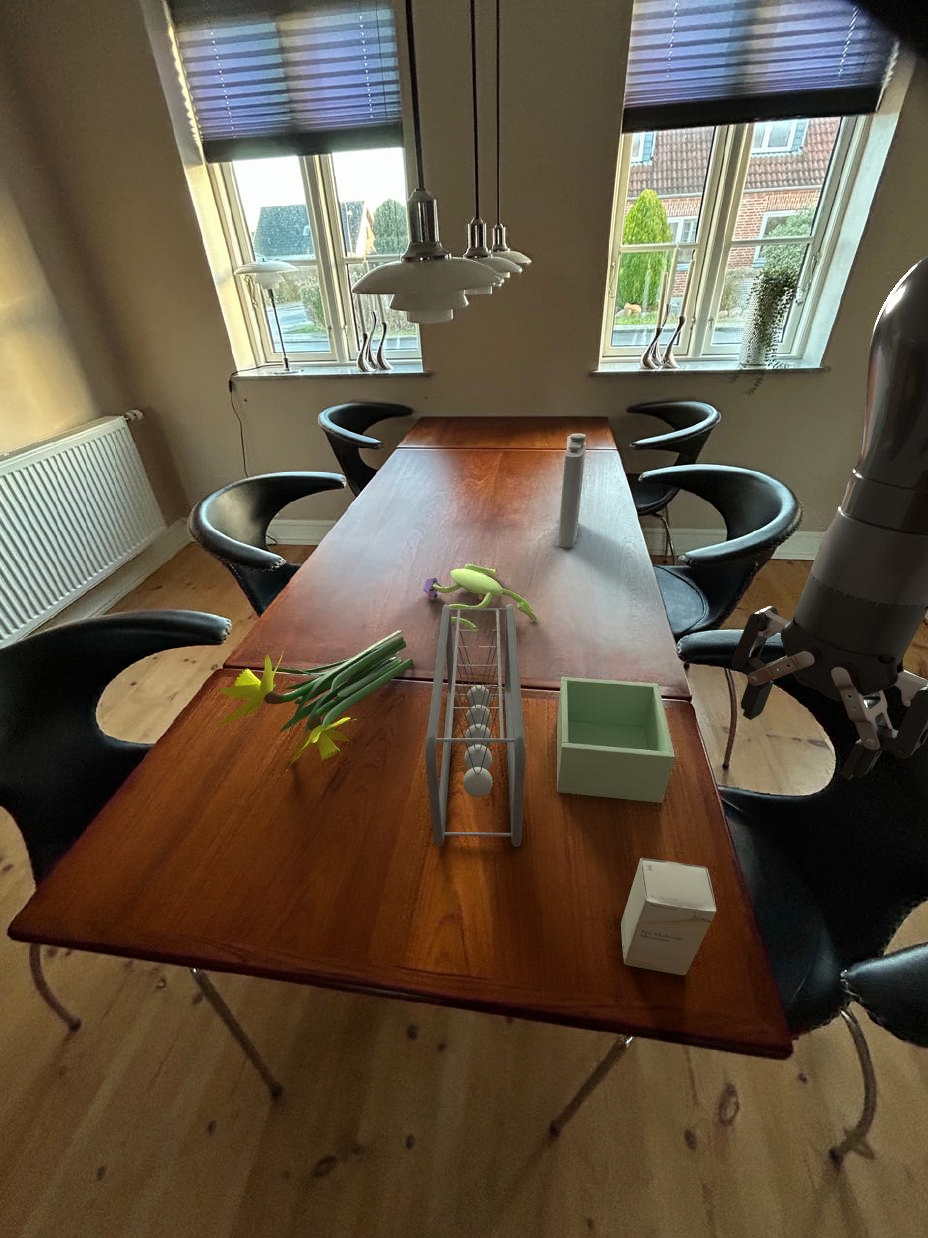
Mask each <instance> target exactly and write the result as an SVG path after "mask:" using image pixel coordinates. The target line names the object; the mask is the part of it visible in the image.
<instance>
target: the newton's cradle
mask: <svg viewBox="0 0 928 1238" xmlns="http://www.w3.org/2000/svg"><path fill="white" fill-rule="evenodd" d="M449 605H450V604H444V605H443V606H442V610H441V618H440V625H439V635H438V641H437V650H436V659H435V666H434V674H433V682H432V691H431V698H430V708H429V714H428V724H427V733H426V739H425V740H426V741H425V769H426V779H427V788H428V797H429V807H430V818H431V826H432V837H433V842H434V844H435V846H437V847H441V846H443V845H444V842H445V836H446V837H510V839H511V845H512V847H515V848H518V847H521V844H522V838H523V837H522V836H523V820H524V819H523V818H524V798H525V779H526V762H527V761H526V760H527V759H526V737H525V735H526V734H525V724H524V714H523V712H524V711H523V702H522V701H523V700H522V699H523V698H522V690H521V689H522V687H521V679H520V678H521V677H520V665H519V663H520V662H519V652H518V640H517V630H516V629H517V628H516V616H515V607H514V605H513V604H512V603H508V604H506V607H505V608H484V609H451V608H450V606H449ZM469 611H476V612H495V617H496V629H494V633H493V636H492V639H491V640H492V641H491V644H490V646H489V645H487V646H485V645H484V646H481V645H480V648H489V654H488V657H487V661H486V664H471V662H470V658H469V654H468V652H467V647H466V645H465V641H464V637H463V634H462V632H463V631H465V629H460V624H459V623H460V618H461V612H462V613H463V612H464V613H465V612H469ZM452 612H455V613H456V612H457V614H456V617H457V624H456V628H455V640H453V623H452V620H451V617H452ZM500 612H505V631H504V632H505V633H504V634H505V639H504V693H503V680H502V679H503V677H502V655H501V653H502V652H501V651H502V650H501V632H500V631H501V629H500V626H501V625H500ZM459 635H460V636H459ZM495 636H496V646H493V645H494V641H495ZM459 637H461V640H462V644H463V648H464V651H465V655H466V659H467V662H468V664H465V661H464V657H463V655H462V651H461V647H460V646H459ZM453 641H454V642H453ZM492 648H494V651H493V655H492V659H491V662H490V664H489V660H490V656H491V654H492V653H491V652H492ZM496 650H497V664H493V663H494V658H495V655H496ZM458 651H459V654H460V658H461V661H462V664H457V663H458ZM445 663H446V672H447V675H446V676H447V697H446V698H447V700H446V709H445V721H444V735H443V737H440V738H439V737H438V735H439V733H438V732H439V724H440V714H441V713H440V712H441V703H442V693H443V685H444V673H445ZM462 666H463V668H464V672H465V675H466V679H467V682H468V683H467V684H464V680H463V677H462V673H461V670H460V667H462ZM466 666H468V667H469V670H470V672H471V676H472V680H473V683H474V684H471V683H470V679H469V676H468V672H467V668H466ZM473 666H477V667H478V666H479V667H480V666H481V667H483V666H484V667H485V670H484V673H483V677H482V683H481V684H477V683H476V680H475V676H474V672H473V669H472V667H473ZM488 666H490V667H489V671H488V674H487V679H486V683H485V684H484V680H485V677H486V673H487V669H488ZM493 667H494V671H493V675H492V678H491V682H490V684H489V683H488V682H489V680H490V675H491V671H492V668H493ZM457 671H458V674H459V677H460V680H461V684H456V679H457ZM496 672H497V679H498V684H493V683H494V679H495V675H496ZM461 686H462V687H463V690H464V693H460V691H459V688H458V687H461ZM466 687H469V690H468V692H467V691H466ZM488 687H489V689H488ZM493 687H495V688H494V693H491V691H492V688H493ZM497 690H498V693H497ZM456 691H457V693H456ZM455 697H458V698H459V702H460V705H461V706H460V707H459V706H456V707H455ZM462 697H463V698H465V697H466V702H467V705H468V706H466V707H465V706H464V705H463V701H462ZM496 697H497V698H498V707H497V706H495V707H493V705H494V701H495V698H496ZM503 698H504V703H503ZM489 705H490V706H489ZM503 705H504V706H503ZM503 707H504V708H503ZM457 709H462V712H463V714H464V718H465V721H466V725H467V730H466V732H465V734H464V730H463V728H462V724H461V721H460V717H459V715H458V712H457ZM465 709H468V710H467V712H466V711H465ZM492 709H495V713H494V717H492ZM504 709H505V727H504ZM498 710H499V713H498ZM454 712H455V715H456V718H457V721H458V725H459V728H460V731H461V734H462V738H461V737H460V738H459V737H458V738H457V737H456V738H454V737H453V725H454ZM497 714H498V715H499V738H493V736H492V733H493V730H494V725H495V722H496V718H497ZM492 718H493V721H492ZM491 724H492V725H491ZM490 725H491V729H489V727H490ZM504 728H505V729H506V730H504ZM504 731H506V738H505V732H504ZM452 737H453V738H452ZM437 743H443V744H442V754H441V755H442V757H441V766H440V767H441V768H440V780H439V777H438V765H437V764H438V763H437ZM452 743H465V748H466V751H465V753H464V758H463V760H464V764H465V766H466V768H467V771H466V772H465V774H464V776H463V781H462V783H463V784H462V785H463V788H464V790H465V792H466V793H467V795H469V796H470V797H473V798H483V797H485V796H487V795H488V794H489V793H490V792H491V790H492V788H493V776H492V774H491V773H490V772H489V771H488V770H489V769H490V768H491V765H492V764H493V755H492V753H491V750H490V749H489V747H490V746H491V744H492V743H506V753H507V774H508V776H507V777H508V796H509V817H510V819H509V820H510V832H460V831H459V832H458V831H457V832H452V831H450V832H449V831H447V832H446V820H447V807H448V793H449V778H450V763H451V750H452Z"/></svg>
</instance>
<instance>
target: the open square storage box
mask: <svg viewBox="0 0 928 1238" xmlns="http://www.w3.org/2000/svg"><path fill="white" fill-rule="evenodd" d="M556 721H557V723H556V762H557V763H556V792H557V793H561V794H570V795H581V796H590V797H601V798H611V799H618V800H619V799H621V800H630V801H639V802H648V803H649V802H650V803H660V804H662V803H663V802H664V798H665V794H666V793H667V792H666V791H667V788H668V784H669V781H670V778H671V773H672V771H673V767H674V764H675V760H676V755H675V750H674V745H673V742H672V736H671V733H670V729H669V724H668V719H667V716H666V712H665V708H664V702H663V699H662V694H661V690H660V685H659V683H652V682H638V681H625V680H624V681H623V680H612V679H611V680H610V679H597V678H584V677H583V678H582V677H570V676H569V677H567V676H561V678H560V688H559V699H558V708H557V718H556Z"/></svg>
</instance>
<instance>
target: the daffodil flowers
mask: <svg viewBox="0 0 928 1238" xmlns="http://www.w3.org/2000/svg"><path fill="white" fill-rule="evenodd" d="M403 632H404V630H402V629H398V630H396V631H394V632H392V633H391V634H389V635H387V636H386V637H383V638H382V639H381V640H378V641H377V642H375V643H374V644H372V645H371V646H368V647H367V648H366V649H364V650H362V651H361V652H359V653H357V654H356V655H354V656H353V657H350V658H347V659H344V660H341V661H337V662H334V663H331V664H327V665H323V666H318V667H314V668H308V669H297V668H294V667H291V668H285V667H284V668H283V667H279V665H280V663H281V661H282V659H283V655H281V656H280V659H279V661H278V664H277V666H276V667H275V666H273V664H272V660H271V657H270V655H269V653H266V655H265V658H264V669H263V674H262V677H261V680H260V679H259V678H258V677H257V676H255V674H254V673H253V672H252V671H251V670H250V669H249V668H245V669H244V670H242V671H241V672H242V673H239V676H238V677H236V680H234V682H235V683H233V685H234V686H228V687H223V688H220V689H219V692H220V693H222V695H225V696H227V697H229V698H231V699H234V700H246V701H247V702H245V703H243V705H241V706H240V707H239V708H237V709H236V710H235V711H234V712H232V713H231V714H229V716H226V718H224V719H223V720H222V721H221V722H220V723H218V724H217V727H219V726H221V725H225V724H228V723H232V722H234V721H235V720H237V719H239V718H241V717H242V716H243V715H244V718H243V720H246V719H247V718H248V717H250V716H252V715H253V714H255V713H256V712H257V711H258V710H259V709H260V707H262V704H263V702H265V703H266V704H268V705H283V704H285V703H289V702H292V701H294V705H297V708H296V710H295V711H294V714H293V716H292V717H290V719H289V720H288V721H287V722H286V723H285V724H284V725H283V727H282V728H281V729H280V730H279V733H282V732H285V731H286V730H288V729H290V728H292V727H293V726H294V725H296V724H297V723H299V722H301V721H302V720H304V719H306V717H308V718H307V721H306V724H305V727H304V731H303V737H304V736H305V735H306V733H307V731H308V729H309V731H310V733H309V734H308V735H307V737H306V738H305V740H304V742H303V743H302V745H301V746H299V747H298V749H296V751H295V753H294V754H293V758H292V760H291V763H290V765H289V767H291V766H292V765H293V763H294V762H296V761H297V760H298V759H299V758H300V757H301V756H302V755H303V754H304V753H305V752H306V751H307V750H308V749H309V748H310V747H311V746H312V745H313V744H314V743H316V744H317V745H316V746H317V747H318V752H319V756H320V759H321V761H323V760H324V761H325V760H326V759H327V760H328V759H329V758H332V756H335V755H336V754H338V752H340V748H339V747H337V745H336V744H335V743H334V742H333V740H336V741H337V740H338V741H342V742H349V741H350V739H349V738H348V737H347V736H346V735H344V734H343V733H341V732H339V731H337V730H336V729H334V728H338V727H339V726H341V725H344V724H346V723H349V722H351V721H356V720H357V718H354V719H352V720H350V719H351V717H348V716H345V717H343V718H341V719H340V720H338V721H336V722H334V720H335V719H337V718H338V717H339V716H341V714H343V713H344V712H345V711H347V710H348V709H350V708H351V707H352V706H354V705H356V704H357V703H359V702H360V701H362V700H363V699H365V698H366V697H367V696H369V695H371V694H372V693H373V692H375V691H377V690H378V689H380V688H381V687H382V686H385V685H386V684H387V683H388V682H390V681H392V680H393V679H394V678H396V677H397V676H399V675H400V674H402V673H404V672H405V671H407V670H408V669H410V668H411V667H413V666H414V665H415V663H414V660H413V658H411V657H409V658H408V659H406V660H405V661H403V658H402V657H401V656H399V657H396V656H398V655H399V654H400V653H401V651H402V650H404V649H406V648H407V642H406V641H405V639H404V636H403V635H401V636H399V637H397V636H398V635H400V634H402V633H403ZM284 651H285V650H284V649H282V653H281V654H283V653H284ZM273 669H274V670H273ZM277 671H279V672H282V673H285V674H286V673H287V674H290V675H306V676H313V677H314V676H315V677H314V678H310V679H308V680H304V681H301V682H299V683H295V684H293V685H289V686H287V687H285V688H284V690H293V691H290V692H287V693H280V692H278V691H276V690H274V689H275V688H276V687H277V686H278V684H276V683H274V678H275V674H276V672H277ZM321 671H322V672H321ZM316 697H317V698H316ZM313 699H314V700H313ZM309 701H311V702H309ZM307 702H309V703H308V704H307V705H305V704H306V703H307ZM323 715H324V716H323ZM322 716H323V718H322ZM321 718H322V720H321ZM366 718H367V716H365V717H362V718H360V720H362V719H366ZM333 722H334V723H333ZM288 770H289V768H287V769H286V771H288Z"/></svg>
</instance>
